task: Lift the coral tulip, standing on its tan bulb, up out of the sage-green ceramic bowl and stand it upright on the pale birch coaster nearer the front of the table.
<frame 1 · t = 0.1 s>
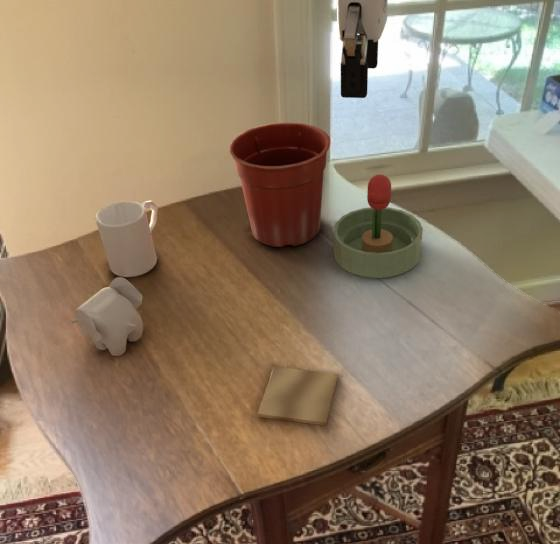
hand: (359, 81, 84), 31 cm above the table, tool pointing down, fingers open, 9 cm apart
mug: (141, 258, 114), on the table
elephant figurine: (114, 340, 99), on the table
coaster: (298, 396, 87), on the table
bowl: (376, 255, 110), on the table
flower pot: (285, 230, 118), on the table
tulip: (376, 252, 109), point 1 cm above the table, touching bowl
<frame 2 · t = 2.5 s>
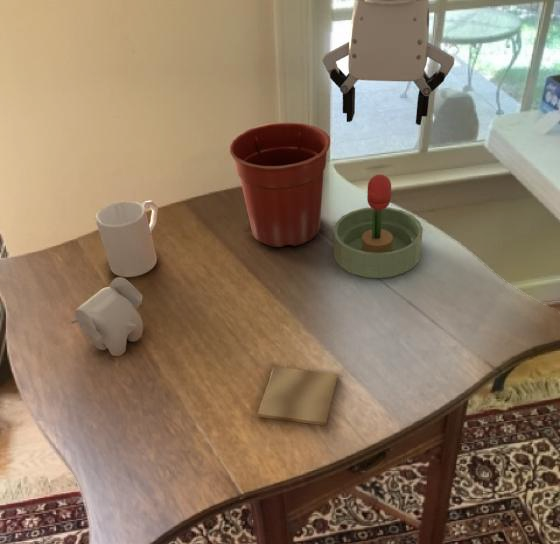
hand: (384, 119, 93), 23 cm above the table, tool pointing down, fingers open, 9 cm apart
nothing on the table moved.
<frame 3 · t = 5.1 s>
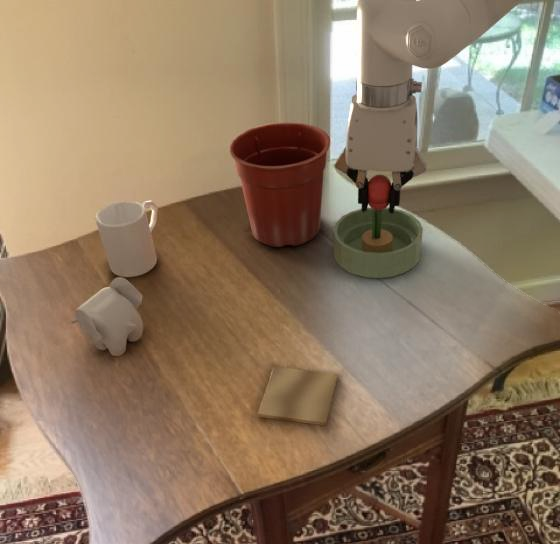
hand: (378, 207, 103), 9 cm above the table, tool pointing down, fingers closed on tulip, 3 cm apart
tulip: (376, 252, 109), point 1 cm above the table, touching bowl, gripper
everything else where it was.
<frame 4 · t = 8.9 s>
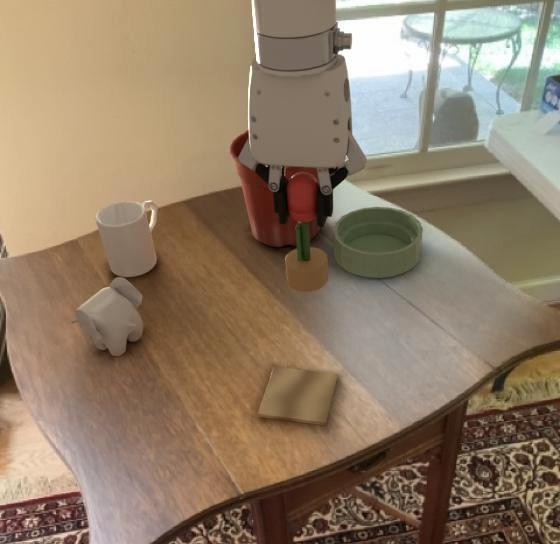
hand: (304, 218, 74), 24 cm above the table, tool pointing down, fingers closed on tulip, 3 cm apart
tulip: (307, 279, 80), point 16 cm above the table, touching gripper
everything else where it was.
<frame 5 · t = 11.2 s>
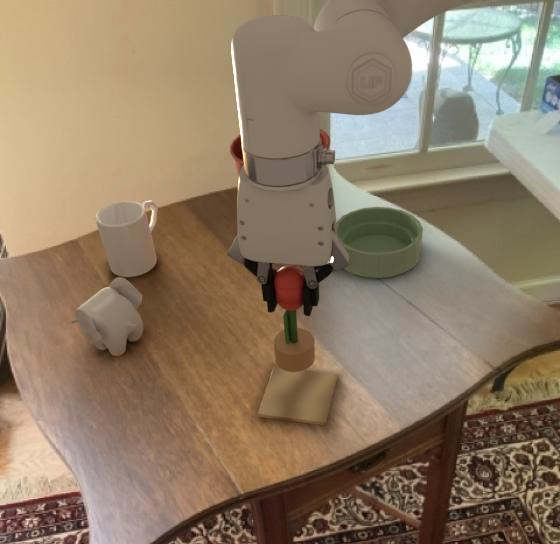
hand: (291, 305, 77), 15 cm above the table, tool pointing down, fingers closed on tulip, 3 cm apart
tulip: (295, 358, 83), point 7 cm above the table, touching gripper
everything else where it was.
when the fingers open (9 cm above the table, at t = 12.9 s): tulip stays where it is, resting on coaster.
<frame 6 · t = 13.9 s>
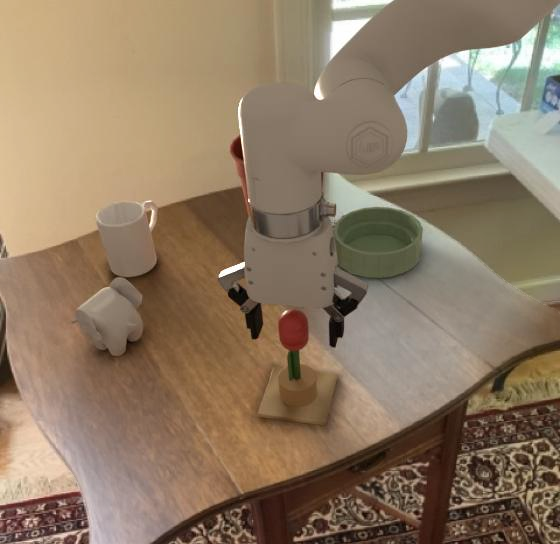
hand: (295, 335, 80), 11 cm above the table, tool pointing down, fingers open, 9 cm apart
tulip: (298, 393, 87), point 1 cm above the table, touching coaster
everything else where it was.
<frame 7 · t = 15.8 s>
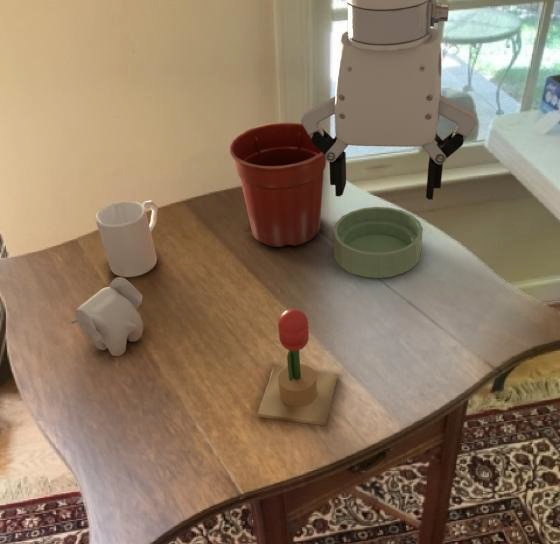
hand: (384, 191, 71), 27 cm above the table, tool pointing down, fingers open, 9 cm apart
nothing on the table moved.
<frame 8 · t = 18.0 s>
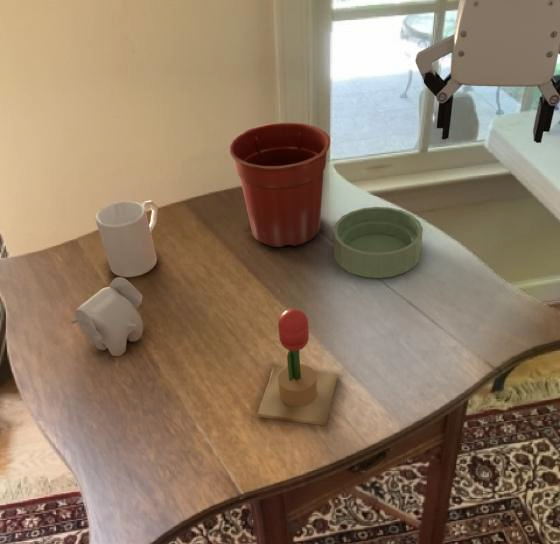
hand: (490, 135, 72), 30 cm above the table, tool pointing down, fingers open, 9 cm apart
nothing on the table moved.
at the end: tulip inside the target area on the coaster (0.1 cm from its centre), point 0.6 cm above the coaster's base; tulip tilted 0°; tulip touching coaster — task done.
